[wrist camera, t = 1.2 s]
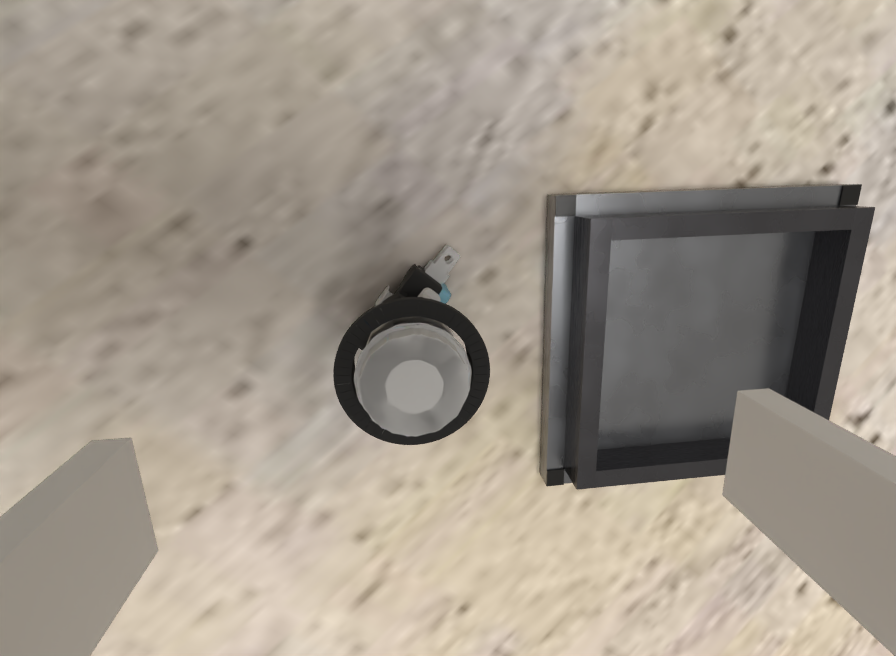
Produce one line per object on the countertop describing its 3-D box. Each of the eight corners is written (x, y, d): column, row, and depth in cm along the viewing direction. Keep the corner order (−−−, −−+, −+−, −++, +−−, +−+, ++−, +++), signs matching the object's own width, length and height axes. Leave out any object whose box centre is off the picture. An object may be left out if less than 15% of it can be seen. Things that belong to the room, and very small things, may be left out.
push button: (410, 215, 24) (424, 236, 14) (492, 279, 25) (554, 337, 16) (331, 320, 25) (296, 405, 15) (415, 376, 26) (430, 486, 17)
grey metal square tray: (547, 194, 24) (570, 196, 21) (839, 184, 26) (899, 184, 23) (539, 473, 29) (557, 507, 26) (787, 449, 31) (831, 479, 28)
